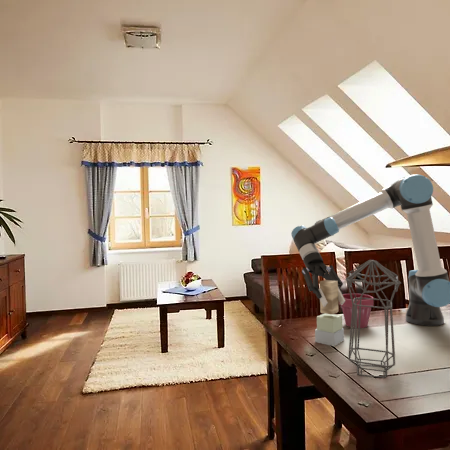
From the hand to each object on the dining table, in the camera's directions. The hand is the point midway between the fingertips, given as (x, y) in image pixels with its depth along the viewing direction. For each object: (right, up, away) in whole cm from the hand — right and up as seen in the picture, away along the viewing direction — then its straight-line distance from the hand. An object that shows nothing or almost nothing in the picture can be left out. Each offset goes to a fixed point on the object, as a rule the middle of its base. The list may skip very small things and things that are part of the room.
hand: (334, 303), depth 143 cm
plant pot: (+17, -15, +23) cm, 32 cm away
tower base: (-1, -16, +4) cm, 16 cm away
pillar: (-1, -4, +3) cm, 5 cm away
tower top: (-1, -11, +4) cm, 11 cm away
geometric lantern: (+5, -16, -25) cm, 30 cm away
